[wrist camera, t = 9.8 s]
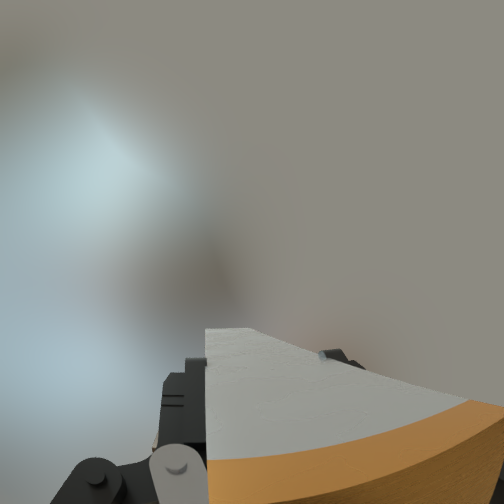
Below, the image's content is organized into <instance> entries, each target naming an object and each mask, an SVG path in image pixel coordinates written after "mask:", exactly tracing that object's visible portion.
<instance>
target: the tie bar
mask: <svg viewBox="0 0 504 504" xmlns="http://www.w3.org/2000/svg"><path fill="white" fill-rule="evenodd" d="M205 358H207V366H205V409H206V449H207V474H208V494H209V504H489V502H490V500H491V497H492V495H493V492H494V489H495V486H496V483H497V480H498V477H499V474H500V471H501V468H502V464H503V461H504V407H501V406H496V405H492V404H487V403H483V402H478V401H474V400H470V399H465V398H461V397H457V396H453V395H449V394H445V393H441V392H438V391H434V390H430V389H427V388H423V387H419V386H416V385H412V384H409V383H406V382H402V381H399V380H395V379H392V378H388V377H386V376H382V375H379V374H376V373H373V372H370V371H367V370H363V369H360V368H357V367H354V366H351V365H348V364H345V363H342V362H339V361H336V360H334V359H331V358H325V357H323V356H320V355H318V354H316V353H314V352H311V351H308V350H305V349H303V348H300V347H297V346H294V345H292V344H289V343H287V342H284V341H281V340H279V339H276V338H274V337H271V336H268V335H266V334H263V333H261V332H258V331H256V330H253V329H251V328H229V329H228V328H227V329H206V330H205Z"/></svg>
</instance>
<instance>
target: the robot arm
mask: <svg viewBox="0 0 504 504" xmlns="http://www.w3.org/2000/svg"><path fill="white" fill-rule="evenodd" d="M318 355H320V356H323V357H325V358H331V359H334V360H336V361H339V362H342V363H345V364H348V365H351V366H354V367H357V368H360V369H363V370H366V369H365V368H364V367H363V366H361V365H360V364H358V363H357V362H356V361H354V360H351V361H348V359H347V358H346V356H345V354H344V353H343V352H342V350H341V349H332V350H324V351H320V352H319V353H318ZM205 366H207V358H186V360H185V373H170V374H169V376H168V377H167V379H166V380H165V381H164V383H163V391H162V400H161V410H160V421H159V432H158V443H157V447H156V449H155V451H154V452H153V453H152V455H151V456H149V457H148V458H147V459H145V460H143V461H141V462H138V463H133V464H128V465H122V466H116V465H115V464H113V463H112V462H110V461H109V460H106V459H103V458H96V457H95V458H88V459H85V460H83V461H81V462H80V463H79V464H78V465H77V466H76V467H75V468H74V470H73V471H72V472H71V474H70V476H69V477H68V478H67V480H66V481H65V482H64V484H63V485H62V487H61V488H60V490H59V491H58V493H57V494H56V496H55V497H54V499H53V500H52V501H51V503H50V504H209V494H208V474H207V449H206V409H205ZM489 504H504V461H503V464H502V468H501V471H500V474H499V477H498V480H497V483H496V486H495V489H494V492H493V495H492V497H491V500H490V502H489Z"/></svg>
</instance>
